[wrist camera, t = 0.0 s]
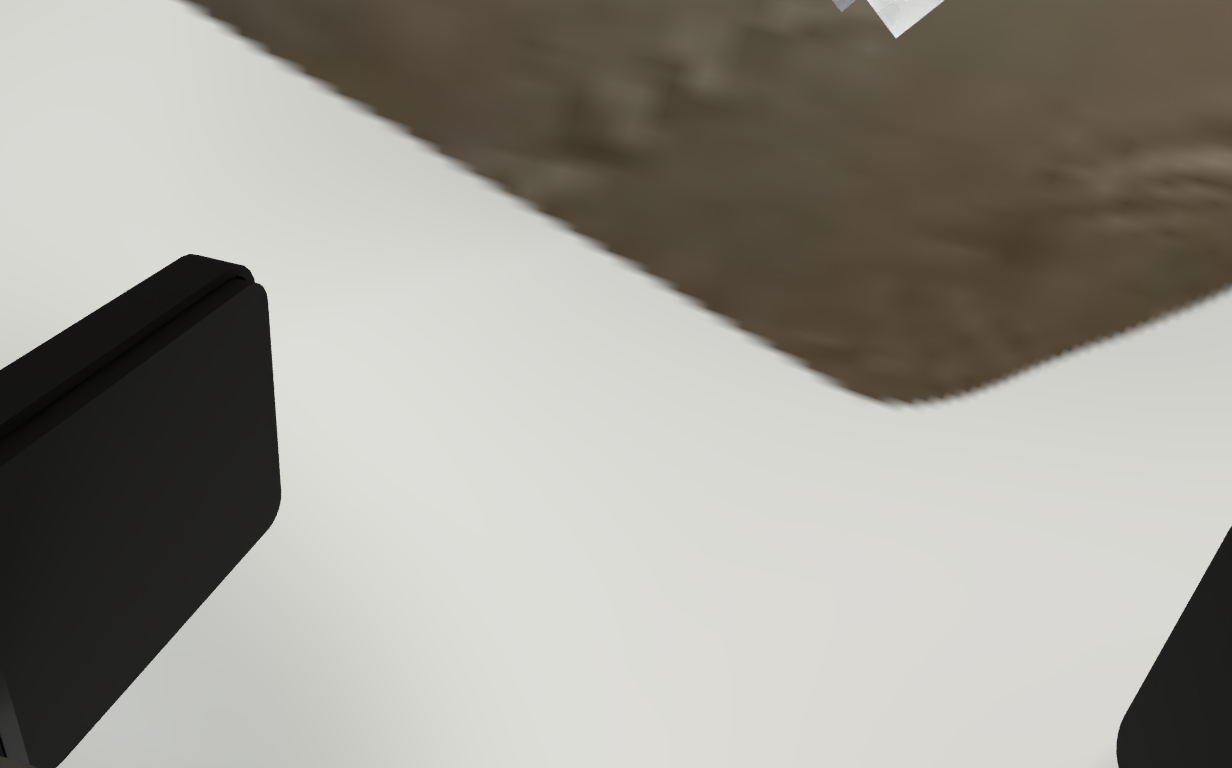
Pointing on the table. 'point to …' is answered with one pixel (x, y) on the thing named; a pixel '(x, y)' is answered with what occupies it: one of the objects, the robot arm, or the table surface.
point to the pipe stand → (897, 12)
